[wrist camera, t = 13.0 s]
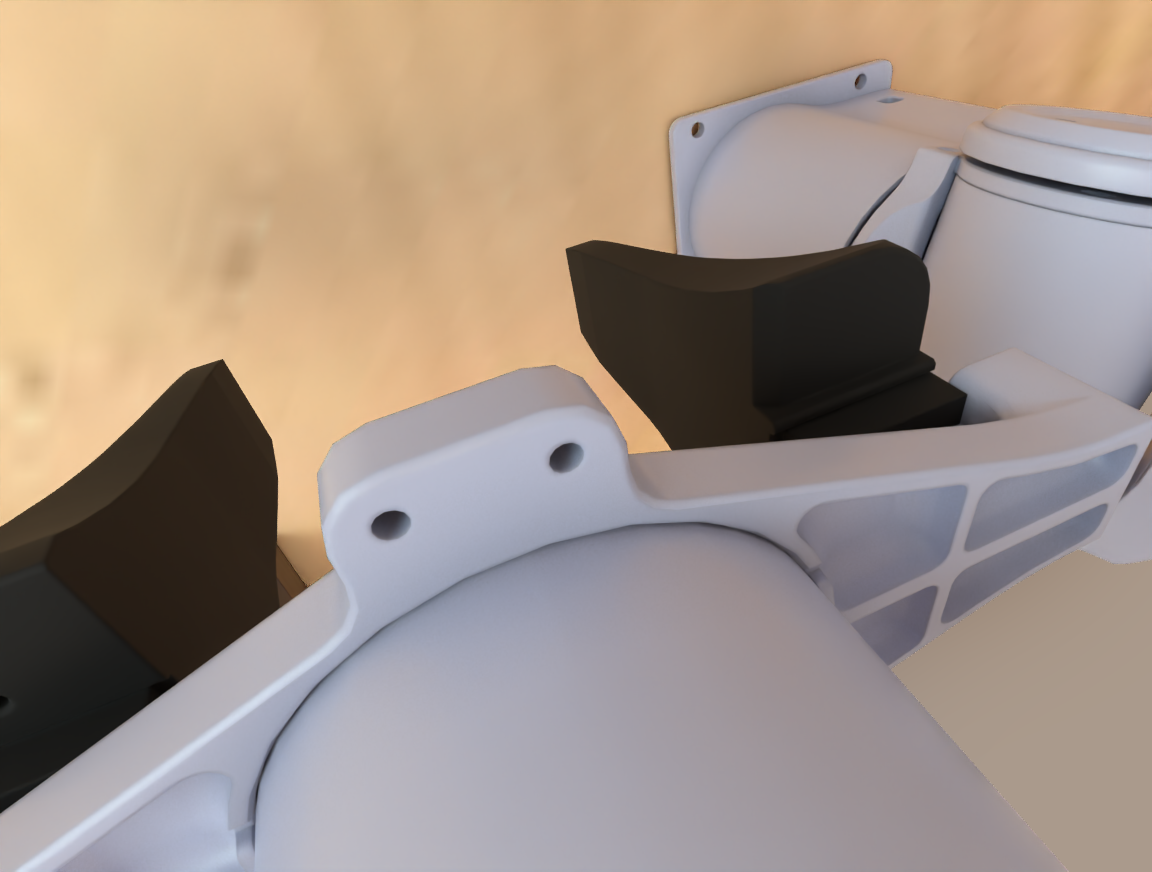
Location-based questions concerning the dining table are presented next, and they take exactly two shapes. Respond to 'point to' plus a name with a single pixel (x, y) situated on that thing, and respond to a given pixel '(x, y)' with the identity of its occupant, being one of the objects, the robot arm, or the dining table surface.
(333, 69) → the dining table surface
